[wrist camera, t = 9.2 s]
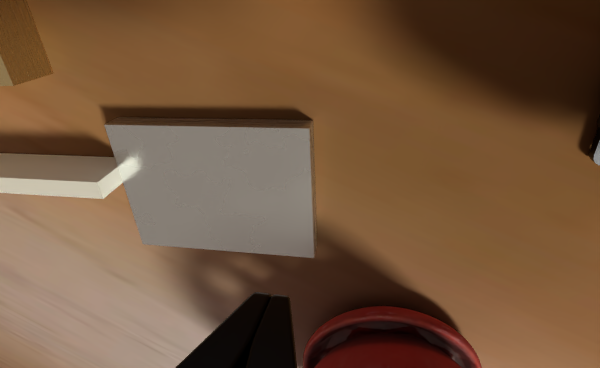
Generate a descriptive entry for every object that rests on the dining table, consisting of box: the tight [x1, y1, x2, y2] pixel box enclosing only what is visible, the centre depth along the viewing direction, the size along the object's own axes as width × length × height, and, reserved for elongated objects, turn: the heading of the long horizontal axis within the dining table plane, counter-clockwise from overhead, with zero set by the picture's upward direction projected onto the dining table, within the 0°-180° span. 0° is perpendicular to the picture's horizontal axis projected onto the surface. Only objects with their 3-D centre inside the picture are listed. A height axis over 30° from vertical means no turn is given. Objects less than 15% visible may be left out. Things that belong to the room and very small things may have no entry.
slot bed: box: [105, 117, 317, 258], centre depth 17 cm, size 11×25×1 cm, turn 3°
